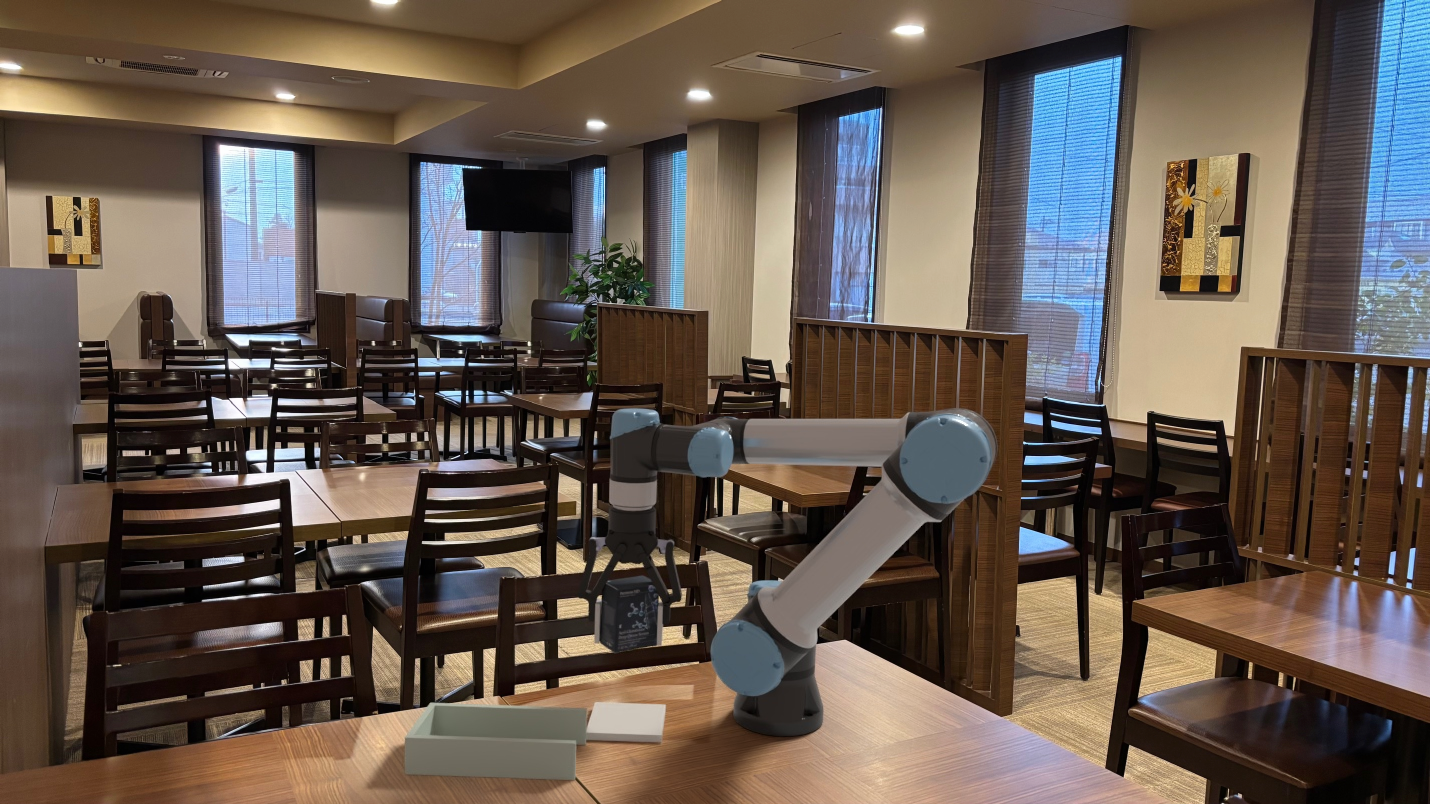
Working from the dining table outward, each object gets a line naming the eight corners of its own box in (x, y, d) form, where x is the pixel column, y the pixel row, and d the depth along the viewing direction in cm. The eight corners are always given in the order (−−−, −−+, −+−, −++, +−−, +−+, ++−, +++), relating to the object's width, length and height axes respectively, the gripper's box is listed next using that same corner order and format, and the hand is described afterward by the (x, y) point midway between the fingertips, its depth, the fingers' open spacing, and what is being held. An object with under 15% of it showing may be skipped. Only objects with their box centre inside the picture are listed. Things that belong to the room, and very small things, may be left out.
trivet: (665, 711, 167) (665, 704, 167) (661, 742, 155) (661, 735, 155) (594, 708, 167) (595, 701, 167) (585, 739, 155) (585, 732, 155)
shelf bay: (586, 741, 155) (587, 708, 154) (574, 780, 142) (575, 743, 142) (430, 736, 155) (430, 702, 154) (404, 774, 142) (404, 737, 142)
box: (615, 654, 156) (617, 589, 155) (599, 643, 160) (600, 580, 159) (658, 646, 160) (660, 582, 159) (641, 636, 165) (643, 574, 164)
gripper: (701, 503, 162) (697, 636, 164) (567, 498, 162) (564, 631, 164) (700, 512, 154) (696, 652, 156) (559, 507, 154) (557, 647, 156)
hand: (628, 641), depth 160 cm, fingers closed on box, 9 cm apart
